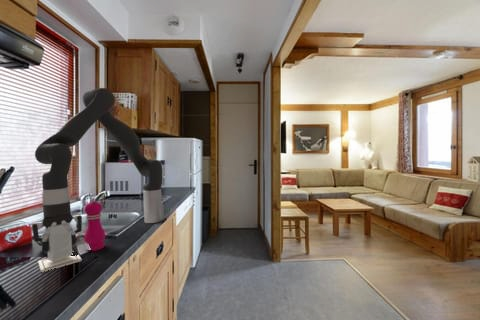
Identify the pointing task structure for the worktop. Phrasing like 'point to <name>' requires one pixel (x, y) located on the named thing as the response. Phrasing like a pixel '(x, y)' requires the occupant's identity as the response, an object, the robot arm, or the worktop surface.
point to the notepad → (57, 263)
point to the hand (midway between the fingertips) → (59, 248)
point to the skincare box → (59, 243)
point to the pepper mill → (94, 226)
